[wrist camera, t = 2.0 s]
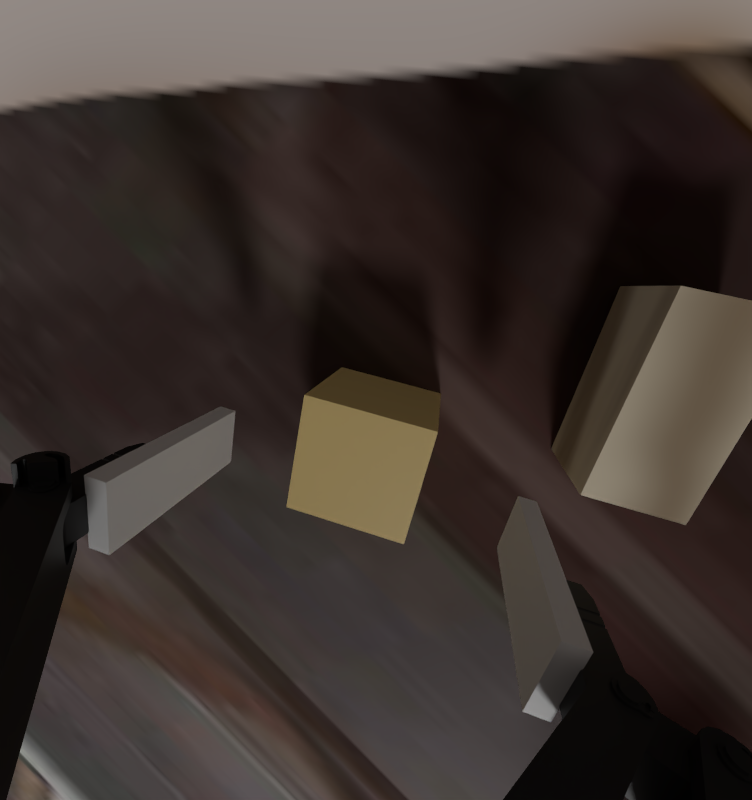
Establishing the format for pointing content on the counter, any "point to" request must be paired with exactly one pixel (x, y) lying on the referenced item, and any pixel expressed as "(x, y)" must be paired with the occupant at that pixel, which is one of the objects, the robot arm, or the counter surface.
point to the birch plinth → (660, 400)
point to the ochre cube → (363, 452)
